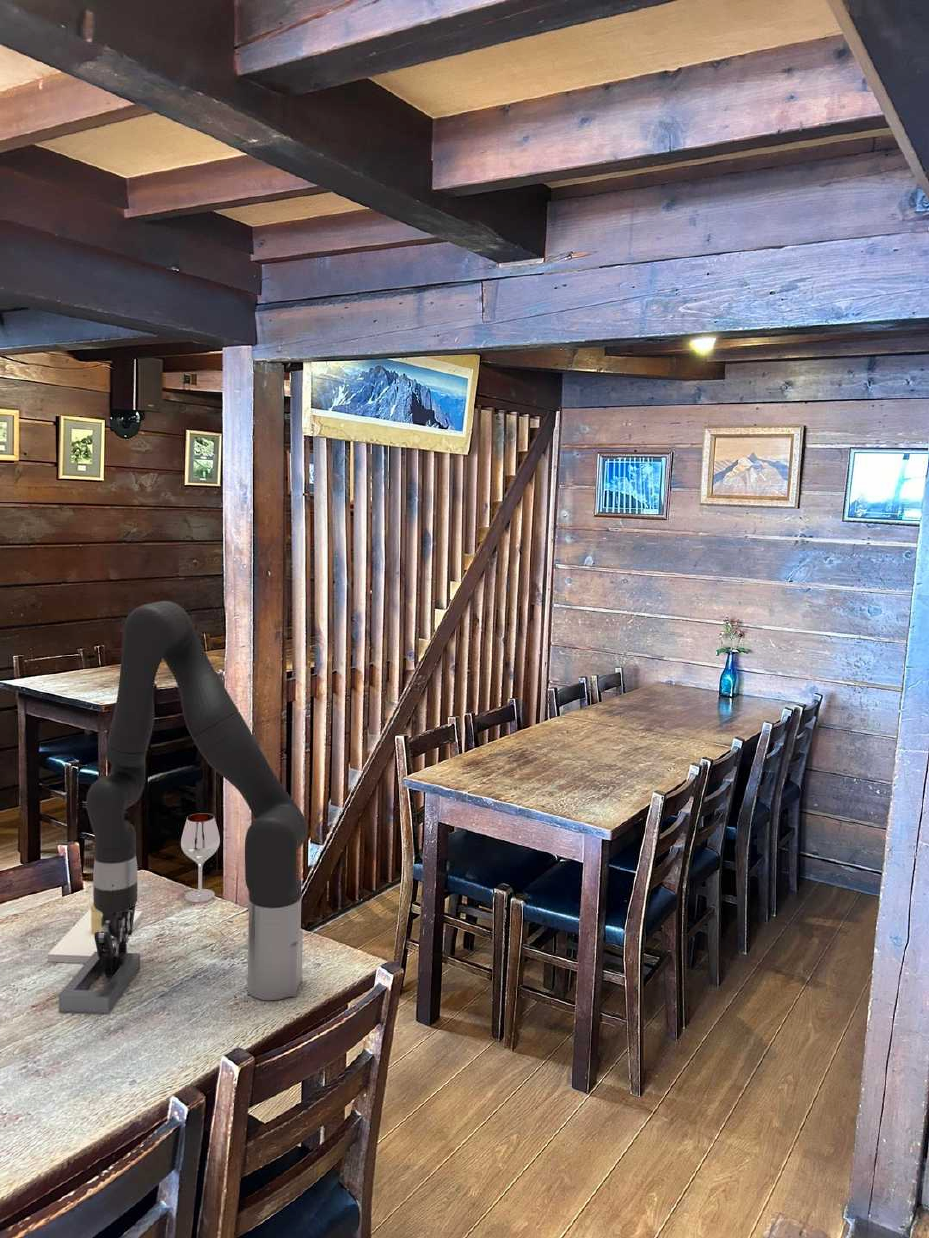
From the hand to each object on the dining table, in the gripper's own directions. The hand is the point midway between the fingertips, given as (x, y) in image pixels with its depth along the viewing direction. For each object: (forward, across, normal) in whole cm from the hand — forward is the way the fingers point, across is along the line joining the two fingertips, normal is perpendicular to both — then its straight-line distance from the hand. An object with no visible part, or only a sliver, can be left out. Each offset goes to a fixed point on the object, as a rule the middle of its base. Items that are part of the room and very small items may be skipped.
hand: (115, 967), depth 165 cm
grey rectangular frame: (0, -7, 0) cm, 7 cm away
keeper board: (0, +11, +8) cm, 14 cm away
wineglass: (+1, +32, -6) cm, 33 cm away
